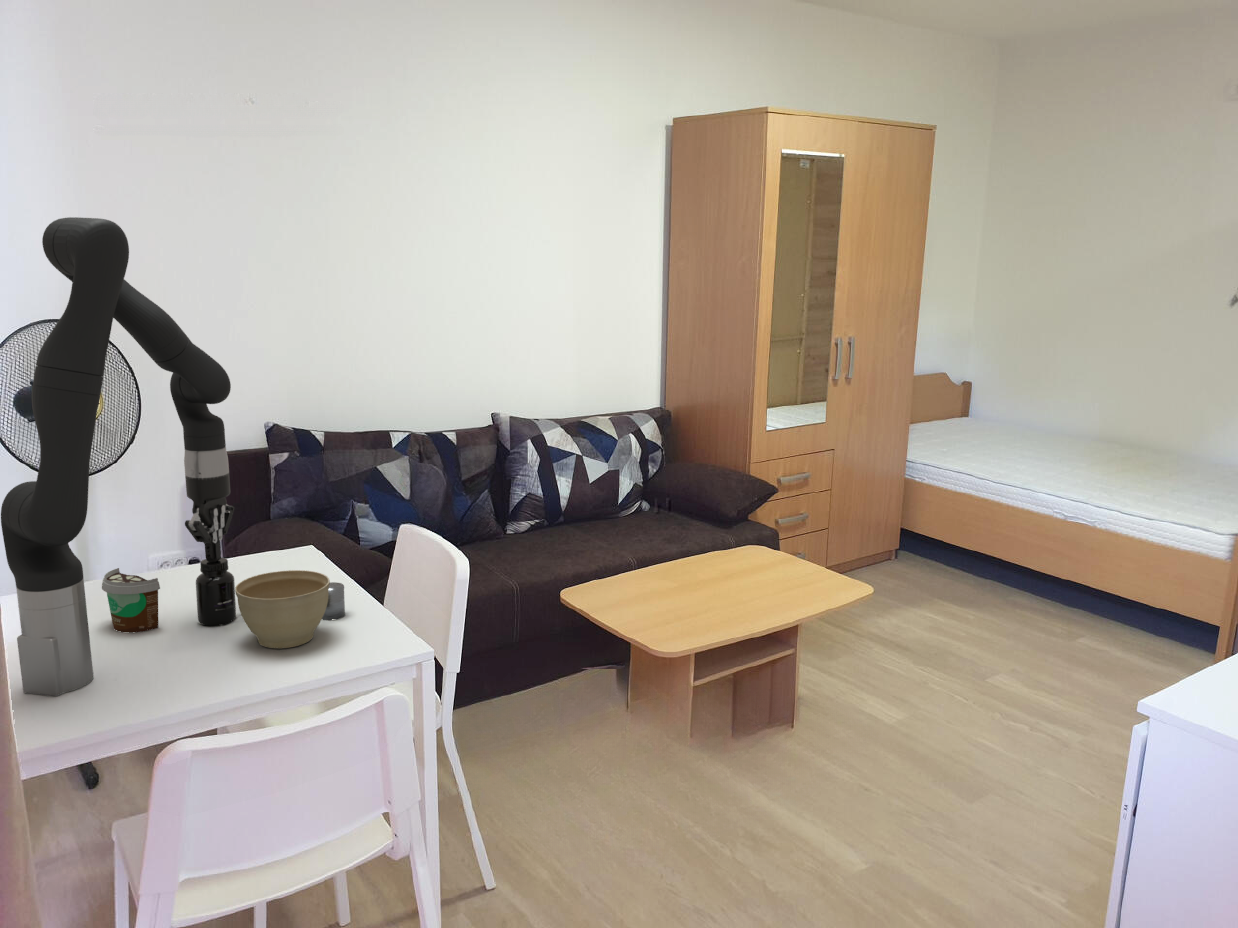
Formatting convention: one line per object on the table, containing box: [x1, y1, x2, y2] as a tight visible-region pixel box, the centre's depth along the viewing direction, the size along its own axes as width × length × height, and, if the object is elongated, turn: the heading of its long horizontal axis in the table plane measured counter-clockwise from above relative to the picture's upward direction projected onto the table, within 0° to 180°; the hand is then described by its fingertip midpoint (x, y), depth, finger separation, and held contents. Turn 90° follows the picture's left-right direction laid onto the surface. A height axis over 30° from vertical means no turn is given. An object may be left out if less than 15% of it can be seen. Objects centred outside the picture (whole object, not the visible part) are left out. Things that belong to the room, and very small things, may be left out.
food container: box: [101, 567, 161, 634], centre depth 174 cm, size 12×6×10 cm, turn 62°
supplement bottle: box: [195, 557, 237, 627], centre depth 178 cm, size 7×7×12 cm
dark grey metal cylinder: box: [321, 581, 346, 621], centre depth 183 cm, size 5×5×6 cm
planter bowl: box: [235, 569, 331, 649], centre depth 170 cm, size 16×16×11 cm
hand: (213, 560), depth 177 cm, fingers closed
